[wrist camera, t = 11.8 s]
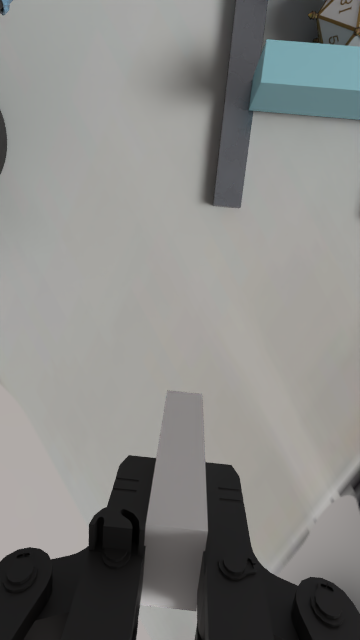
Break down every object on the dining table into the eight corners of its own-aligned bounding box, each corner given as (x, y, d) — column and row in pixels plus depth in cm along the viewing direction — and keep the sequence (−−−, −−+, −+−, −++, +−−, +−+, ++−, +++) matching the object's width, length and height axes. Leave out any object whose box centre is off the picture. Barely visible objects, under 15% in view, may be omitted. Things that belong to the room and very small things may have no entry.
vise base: (213, 205, 39) (215, 202, 34) (242, -57, 33) (251, -116, 27) (396, 222, 39) (431, 222, 33) (464, -41, 32) (522, -98, 26)
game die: (315, 48, 38) (318, -73, 29) (404, 34, 35) (439, -106, 26) (302, 112, 36) (301, 4, 27) (395, 104, 33) (430, -21, 24)
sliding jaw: (248, 110, 35) (260, 82, 28) (253, 76, 34) (266, 39, 27) (406, 123, 35) (458, 98, 28) (414, 89, 34) (470, 55, 27)
